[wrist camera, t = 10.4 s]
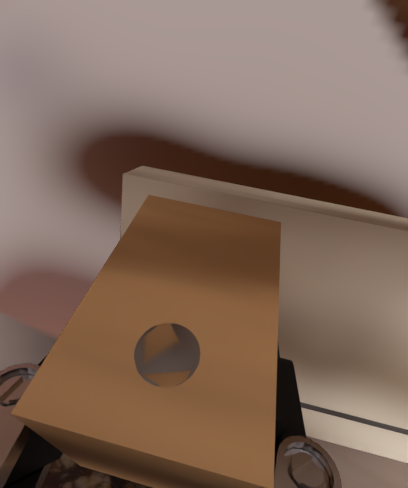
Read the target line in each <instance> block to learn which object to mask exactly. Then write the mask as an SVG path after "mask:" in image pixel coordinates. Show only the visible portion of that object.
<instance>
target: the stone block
mask: <svg viewBox="0 0 408 488" xmlns="http://www.w3.org/2000/svg"><path fill="white" fill-rule="evenodd" d="M42 488H153V487H149V486H146V485H143V484H139V483H136V482H132V481H129V480H126V479H122V478H119V477H116V476H112V475H109V474H106V473H102V472H99V471H96V470H92V469H89V468H86V467H82V466H80V465H78V464H77V463H76V462H74V461H73V460H72V459H70V458H69V457H68V456H66V455H65V454H64V453H63V454H62V456H61V458H60V459H58V460H56V461H54V462H52V463H51V466H50V469H49V471H48V473H47V476H46V478H45V481H44V483H43V485H42Z"/></svg>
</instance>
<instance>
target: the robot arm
mask: <svg viewBox="0 0 408 488" xmlns="http://www.w3.org/2000/svg"><path fill="white" fill-rule="evenodd" d="M48 354H49V353H48ZM46 357H47V356H46ZM46 357H45V358H46ZM45 358H44V359H43V360H42V361H41V362H40V363H39V364H38V365H36V364H31V363H22V364H17V365H13V366H10V367H7V368H5V369H3V370H1V371H0V488H42V485H43V483H44V481H45V478H46V476H47V473H48V471H49V469H50V466H51V463H52V462H54V461H56V460H58V459H60V458H61V456H62V454H63V453H62V452H61V451H60V450H58V449H57V448H56V447H54V446H53V445H52V444H50V443H49V442H48V441H46V440H45V439H44V438H42V437H41V436H40V435H38V434H37V433H36V432H34V431H33V430H32V429H30V428H29V427H28V426H26V425H25V424H24V423H22V422H21V421H20V420H18V419H17V418H16V417H14V416H13V415H12V414H11V412H12V411H13V409H14V408H15V406H16V404H17V403H18V401H19V400H20V398H21V396H22V395H23V393H24V392H25V390H26V389H27V387H28V385H29V384H30V382H31V381H32V379H33V377H34V376H35V374H36V373H37V371H38V369H39V368H40V366H41V365H42V363H43V362H44V360H45ZM274 488H342V485H341V479H340V475H339V471H338V469H337V467H336V465H335V463H334V461H333V460H332V458H331V457H330V456H329V454H328V453H327V452H326V451H325V450H324V449H323V448H322V447H321V446H320V445H319V444H317V443H316V442H314V441H312V440H311V439H309V438H306V433H305V427H304V421H303V415H302V410H301V404H300V398H299V392H298V387H297V381H296V375H295V369H294V365H293V362H292V360H288V359H284V358H280V354H279V345H278V349H277V385H276V421H275V456H274Z"/></svg>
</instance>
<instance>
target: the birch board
mask: <svg viewBox="0 0 408 488" xmlns="http://www.w3.org/2000/svg"><path fill="white" fill-rule="evenodd" d="M148 195H152V196H157V197H162V198H167V199H172V200H176V201H181V202H186V203H191V204H196V205H201V206H205V207H210V208H215V209H220V210H225V211H229V212H234V213H239V214H244V215H249V216H254V217H258V218H263V219H268V220H273V221H278V222H281V242H280V278H279V313H278V345H279V354H280V358H284V359H288V360H292V362H293V365H294V369H295V375H296V381H297V387H298V392H299V398H300V404H301V410H302V415H303V421H304V427H305V433H306V436H309V437H312V438H316V439H320V440H323V441H327V442H331V443H335V444H338V445H342V446H346V447H350V448H353V449H357V450H361V451H365V452H368V453H372V454H376V455H379V456H383V457H387V458H391V459H394V460H398V461H402V462H406V463H408V218H403V217H398V216H393V215H388V214H383V213H378V212H373V211H368V210H363V209H358V208H353V207H348V206H343V205H338V204H333V203H328V202H323V201H317V200H312V199H307V198H303V197H298V196H292V195H288V194H282V193H278V192H273V191H268V190H263V189H258V188H253V187H247V186H243V185H238V184H233V183H227V182H222V181H217V180H212V179H207V178H202V177H197V176H192V175H187V174H182V173H177V172H172V171H167V170H162V169H157V168H152V167H147V166H141V167H138V168H136V169H133V170H131V171H129V172H126V173H124V174H123V183H122V207H121V233H120V239H121V238H122V236H123V234H124V233H125V231H126V230H127V228H128V227H129V225H130V223H131V222H132V220H133V219H134V217H135V215H136V214H137V212H138V211H139V209H140V207H141V206H142V204H143V203H144V201H145V200H146V198H147V196H148Z"/></svg>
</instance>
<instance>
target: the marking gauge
mask: <svg viewBox="0 0 408 488" xmlns="http://www.w3.org/2000/svg"><path fill="white" fill-rule="evenodd" d="M280 242H281V222H278V221H273V220H268V219H263V218H258V217H254V216H249V215H244V214H239V213H234V212H229V211H225V210H220V209H215V208H210V207H205V206H201V205H196V204H191V203H186V202H181V201H176V200H172V199H167V198H162V197H157V196H152V195H148V196H147V198H146V200H145V201H144V203H143V204H142V206H141V207H140V209H139V211H138V212H137V214H136V215H135V217H134V219H133V220H132V222H131V223H130V225H129V227H128V228H127V230H126V231H125V233H124V234H123V236H122V238H121V239H120V241H119V243H118V244H117V246H116V247H115V249H114V250H113V252H112V254H111V255H110V257H109V258H108V260H107V261H106V263H105V265H104V266H103V268H102V269H101V271H100V273H99V274H98V276H97V277H96V279H95V281H94V282H93V284H92V285H91V287H90V289H89V290H88V292H87V293H86V295H85V297H84V298H83V300H82V301H81V303H80V304H79V306H78V308H77V309H76V311H75V312H74V314H73V316H72V317H71V319H70V320H69V322H68V323H67V325H66V327H65V328H64V330H63V331H62V333H61V335H60V336H59V338H58V339H57V341H56V342H55V344H54V346H53V347H52V349H51V350H50V352H49V354H48V355H47V357H46V358H45V360H44V362H43V363H42V365H41V366H40V368H39V369H38V371H37V373H36V374H35V376H34V377H33V379H32V381H31V382H30V384H29V385H28V387H27V389H26V390H25V392H24V393H23V395H22V396H21V398H20V400H19V401H18V403H17V404H16V406H15V408H14V409H13V411H12V412H11V414H12V415H13V416H14V417H16V418H17V419H18V420H20V421H21V422H22V423H24V424H25V425H26V426H28V427H29V428H30V429H32V430H33V431H34V432H36V433H37V434H38V435H40V436H41V437H42V438H44V439H45V440H46V441H48V442H49V443H50V444H52V445H53V446H54V447H56V448H57V449H58V450H60V451H61V452H62V453H64V454H65V455H66V456H68V457H69V458H70V459H72V460H73V461H74V462H76V463H77V464H78V465H80V466H82V467H86V468H89V469H92V470H96V471H99V472H102V473H106V474H109V475H112V476H116V477H119V478H122V479H126V480H129V481H132V482H136V483H139V484H143V485H146V486H149V487H153V488H274V456H275V421H276V385H277V349H278V313H279V278H280Z"/></svg>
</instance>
